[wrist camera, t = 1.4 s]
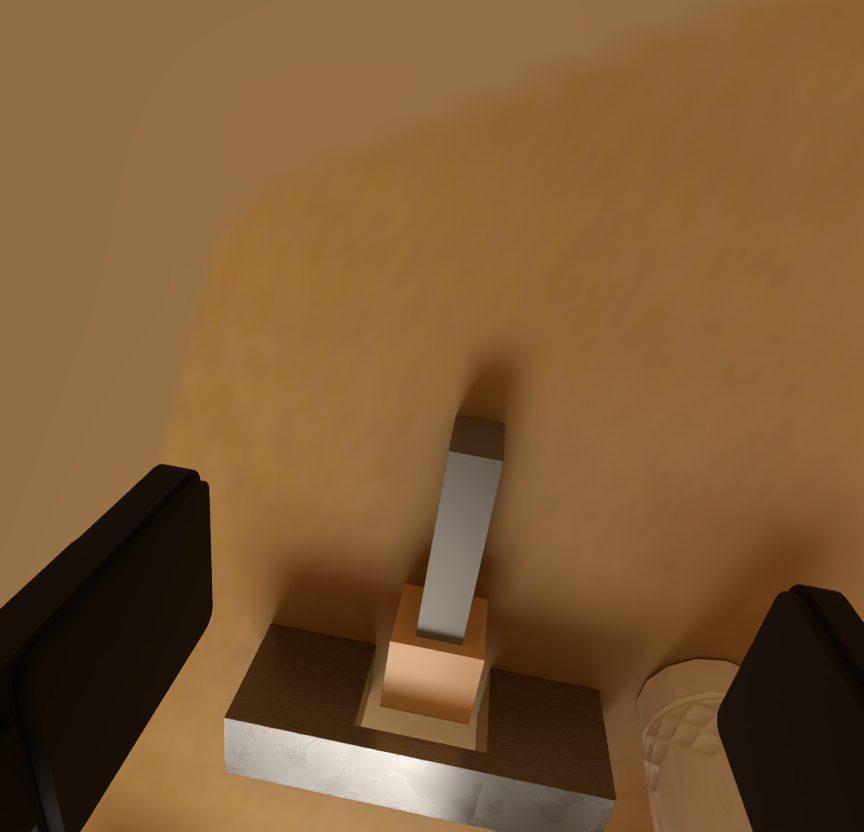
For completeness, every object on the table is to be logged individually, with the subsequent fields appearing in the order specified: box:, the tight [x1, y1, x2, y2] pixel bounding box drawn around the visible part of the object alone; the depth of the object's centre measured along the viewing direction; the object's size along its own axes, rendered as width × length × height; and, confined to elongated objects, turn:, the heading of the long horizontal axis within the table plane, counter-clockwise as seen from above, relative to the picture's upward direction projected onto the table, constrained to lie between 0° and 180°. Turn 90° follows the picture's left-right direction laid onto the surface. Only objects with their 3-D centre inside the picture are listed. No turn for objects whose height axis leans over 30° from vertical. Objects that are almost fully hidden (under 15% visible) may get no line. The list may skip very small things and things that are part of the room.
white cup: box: [637, 659, 753, 832], centre depth 27 cm, size 8×8×10 cm
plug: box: [380, 415, 505, 725], centre depth 28 cm, size 14×4×4 cm, turn 172°
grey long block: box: [224, 624, 616, 832], centre depth 31 cm, size 4×18×6 cm, turn 82°
